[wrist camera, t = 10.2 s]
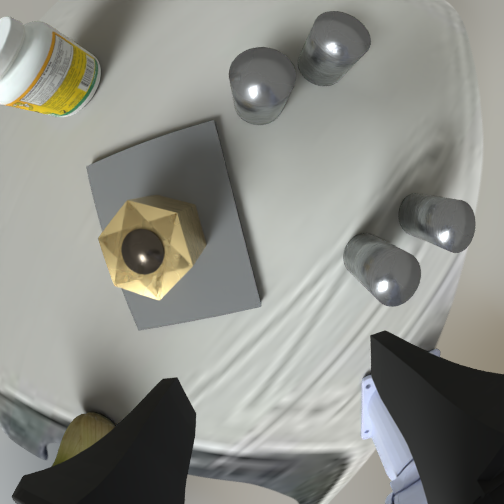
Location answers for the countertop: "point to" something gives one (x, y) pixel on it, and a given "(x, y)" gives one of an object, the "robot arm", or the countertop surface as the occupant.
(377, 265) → the cylinder
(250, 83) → the cylinder
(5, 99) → the supplement bottle
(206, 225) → the mat
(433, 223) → the cylinder
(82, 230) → the countertop surface
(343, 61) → the cylinder
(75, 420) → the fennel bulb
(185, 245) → the nut
